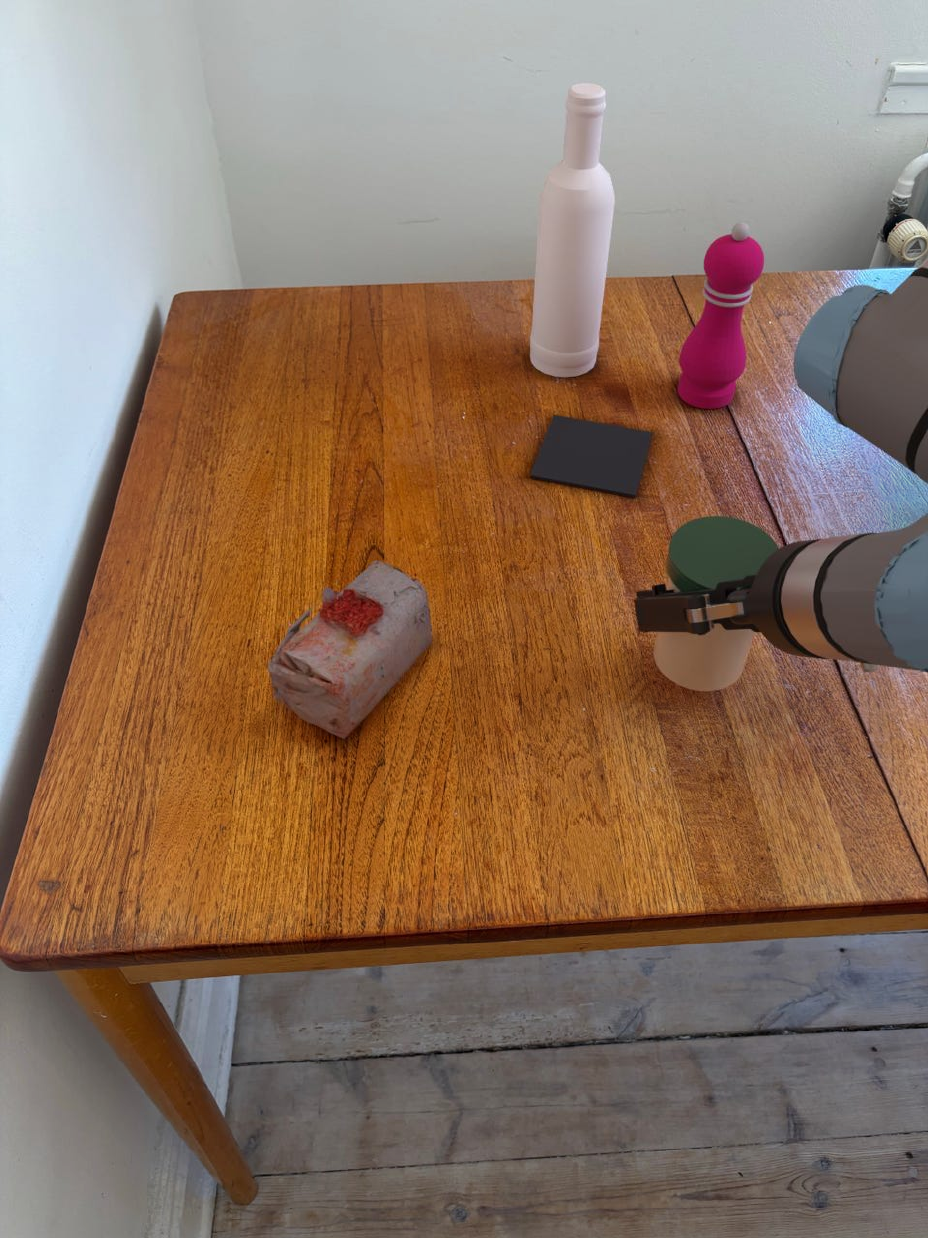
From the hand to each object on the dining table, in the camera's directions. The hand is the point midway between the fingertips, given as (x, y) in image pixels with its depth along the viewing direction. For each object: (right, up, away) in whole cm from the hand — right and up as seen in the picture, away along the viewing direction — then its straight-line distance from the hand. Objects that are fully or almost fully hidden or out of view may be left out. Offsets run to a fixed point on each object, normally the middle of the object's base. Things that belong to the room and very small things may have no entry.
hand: (689, 598), depth 84 cm
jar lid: (+1, +3, -8) cm, 9 cm away
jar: (+1, -5, 0) cm, 5 cm away
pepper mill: (+9, +24, +30) cm, 39 cm away
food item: (-28, -7, +1) cm, 29 cm away
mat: (-5, +15, +22) cm, 28 cm away
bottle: (-7, +29, +35) cm, 46 cm away
